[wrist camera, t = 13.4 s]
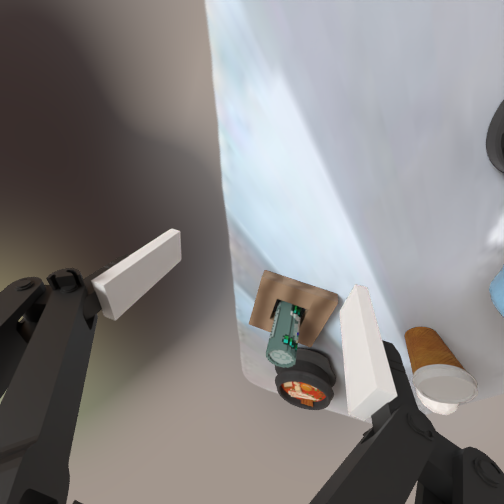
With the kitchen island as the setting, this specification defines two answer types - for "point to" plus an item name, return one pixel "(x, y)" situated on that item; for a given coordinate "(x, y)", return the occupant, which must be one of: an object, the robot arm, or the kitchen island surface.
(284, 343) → the can
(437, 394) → the disposable coffee cup
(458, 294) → the kitchen island surface
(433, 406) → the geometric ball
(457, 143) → the kitchen island surface
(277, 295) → the frame
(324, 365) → the casserole
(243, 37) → the kitchen island surface
